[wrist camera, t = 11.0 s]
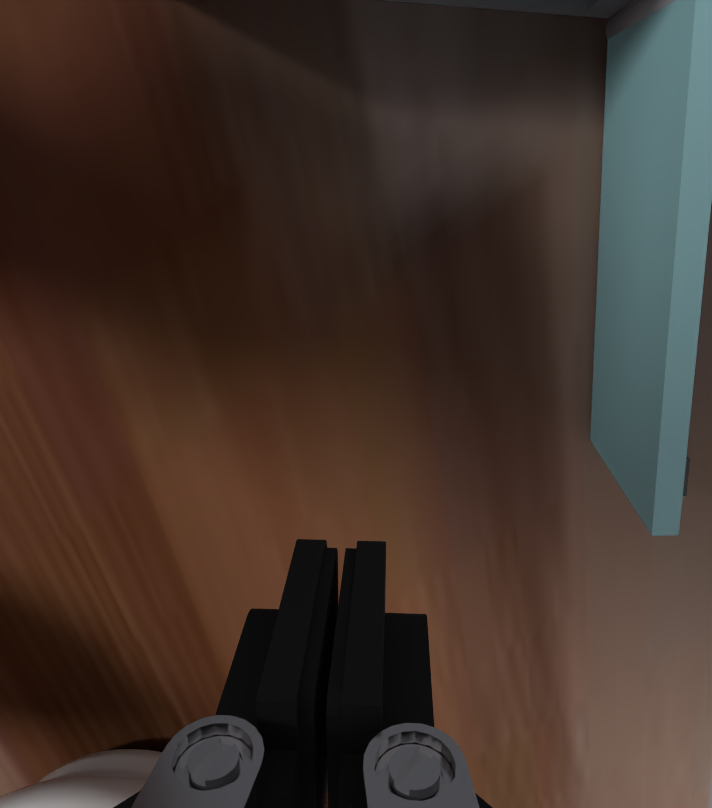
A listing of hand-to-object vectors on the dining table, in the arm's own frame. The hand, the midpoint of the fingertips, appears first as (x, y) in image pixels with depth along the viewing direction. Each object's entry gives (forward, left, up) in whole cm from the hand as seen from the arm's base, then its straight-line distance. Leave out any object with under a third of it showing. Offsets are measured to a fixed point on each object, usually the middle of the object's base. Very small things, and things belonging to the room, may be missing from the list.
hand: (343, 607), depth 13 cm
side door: (+5, -10, -22) cm, 25 cm away
